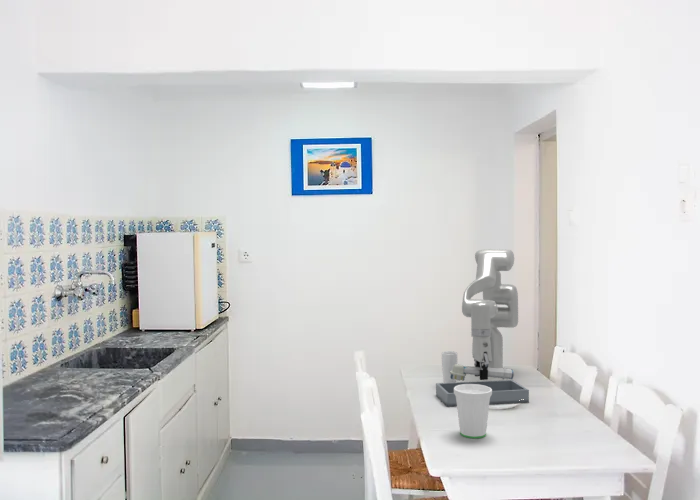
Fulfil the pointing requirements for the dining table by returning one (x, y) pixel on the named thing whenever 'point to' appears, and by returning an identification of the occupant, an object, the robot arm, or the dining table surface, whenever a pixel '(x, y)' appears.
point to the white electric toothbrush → (461, 371)
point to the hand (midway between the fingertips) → (481, 377)
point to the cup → (472, 409)
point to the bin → (500, 392)
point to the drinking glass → (448, 365)
